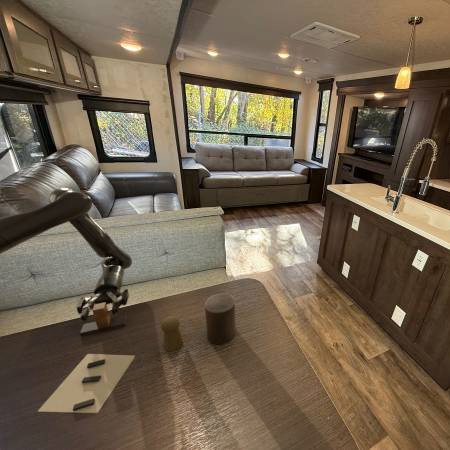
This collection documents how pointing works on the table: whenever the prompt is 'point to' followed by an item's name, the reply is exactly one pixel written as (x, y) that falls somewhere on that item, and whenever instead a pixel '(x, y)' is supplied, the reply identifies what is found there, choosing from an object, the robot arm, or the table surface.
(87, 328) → the wooden handled grey block
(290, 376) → the table surface
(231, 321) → the pillar candle
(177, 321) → the cork
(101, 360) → the mark
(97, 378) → the mark
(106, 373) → the memo board
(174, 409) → the table surface
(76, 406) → the mark
